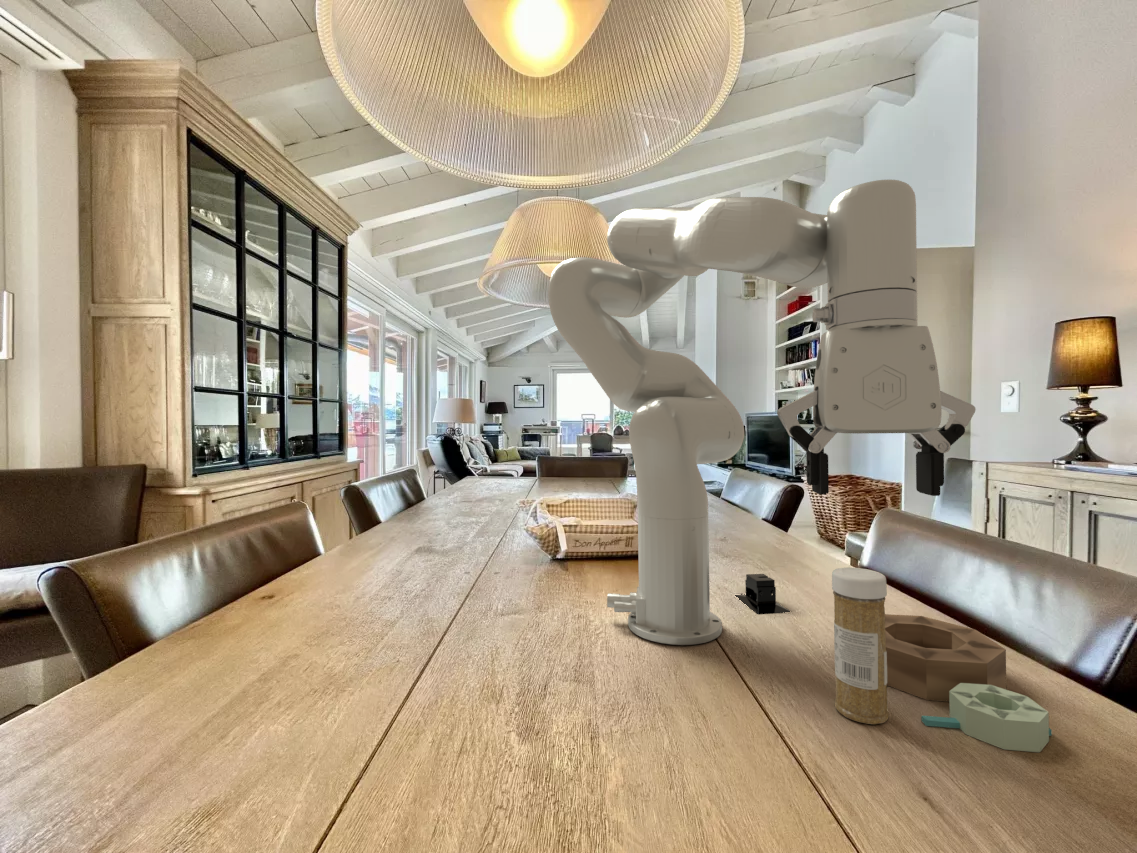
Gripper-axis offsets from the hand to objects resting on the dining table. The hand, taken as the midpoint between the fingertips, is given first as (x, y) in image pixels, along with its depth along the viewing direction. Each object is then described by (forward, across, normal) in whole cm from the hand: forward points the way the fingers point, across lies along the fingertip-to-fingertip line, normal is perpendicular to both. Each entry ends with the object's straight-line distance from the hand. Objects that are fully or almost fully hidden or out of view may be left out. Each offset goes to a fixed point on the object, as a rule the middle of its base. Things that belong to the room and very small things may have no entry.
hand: (873, 493), depth 51 cm
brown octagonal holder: (+21, +8, +9) cm, 24 cm away
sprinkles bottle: (+21, -2, -1) cm, 21 cm away
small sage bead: (+21, +9, -2) cm, 23 cm away
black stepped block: (+22, -6, +30) cm, 37 cm away
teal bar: (+21, +8, -2) cm, 22 cm away
